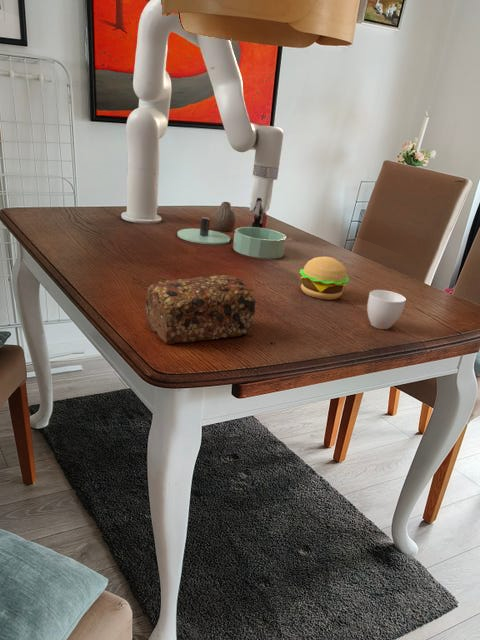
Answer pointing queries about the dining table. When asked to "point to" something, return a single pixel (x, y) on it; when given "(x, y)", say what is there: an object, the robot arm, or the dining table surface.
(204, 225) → the lid
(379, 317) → the cup
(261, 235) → the pot
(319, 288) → the hamburger
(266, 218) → the red cylinder
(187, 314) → the bread
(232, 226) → the vase
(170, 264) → the dining table surface
